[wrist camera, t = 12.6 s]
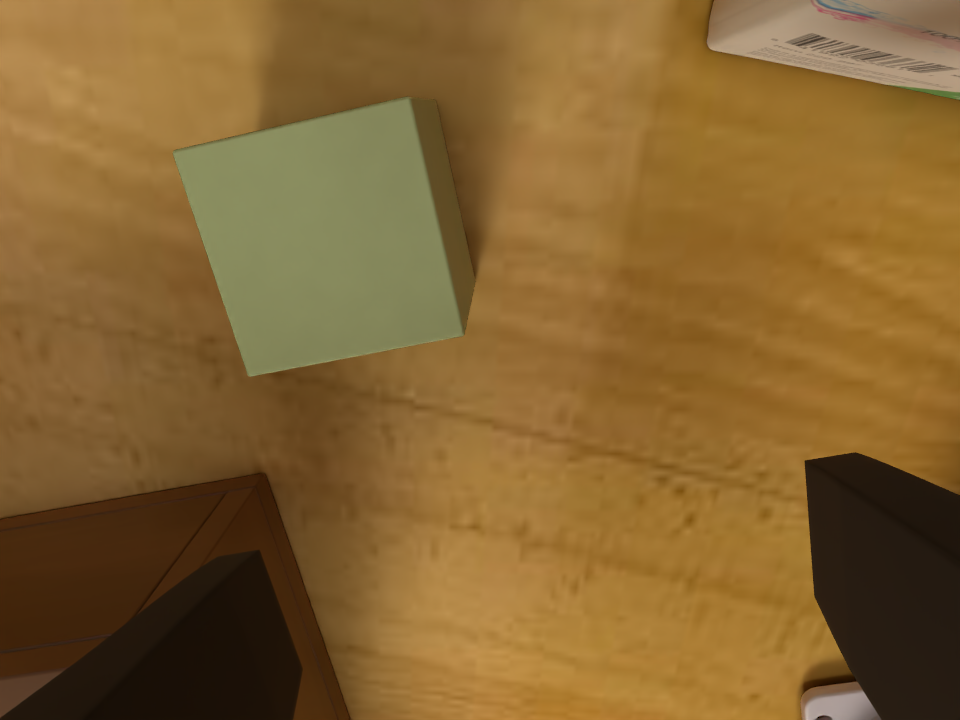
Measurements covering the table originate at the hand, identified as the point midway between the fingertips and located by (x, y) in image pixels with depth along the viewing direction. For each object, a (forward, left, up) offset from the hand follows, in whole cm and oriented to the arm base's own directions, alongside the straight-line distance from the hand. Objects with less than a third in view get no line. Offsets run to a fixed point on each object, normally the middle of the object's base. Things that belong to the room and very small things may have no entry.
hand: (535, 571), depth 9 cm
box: (+4, +3, -9) cm, 11 cm away
